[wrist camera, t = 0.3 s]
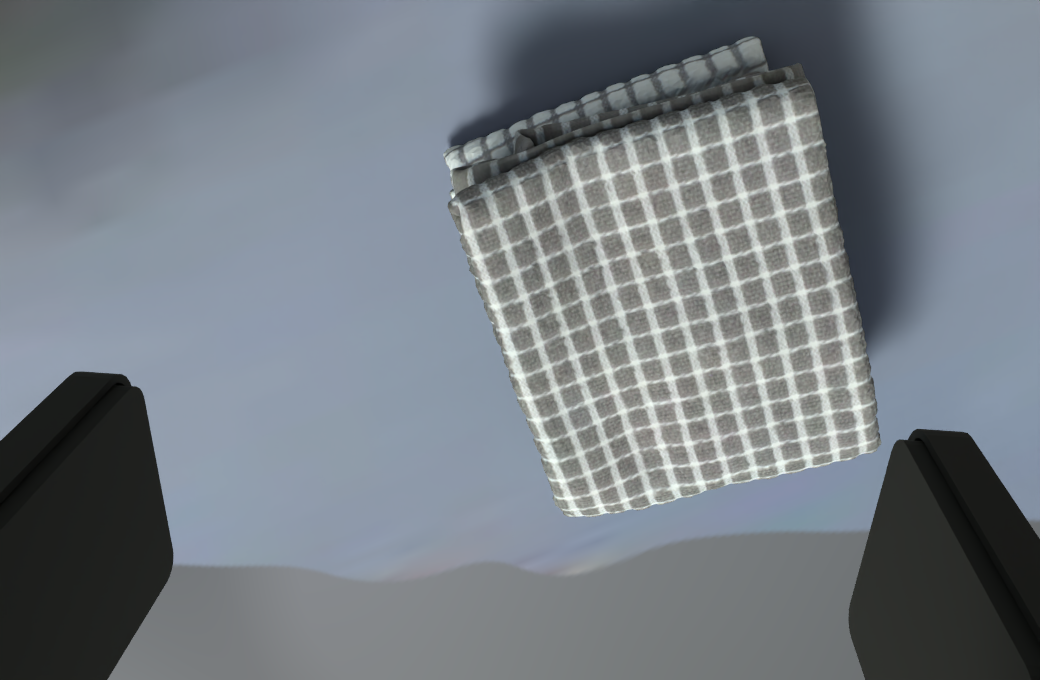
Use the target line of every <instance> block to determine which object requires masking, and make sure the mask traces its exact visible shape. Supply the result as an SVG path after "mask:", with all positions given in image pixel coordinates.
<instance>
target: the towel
mask: <svg viewBox="0 0 1040 680" xmlns="http://www.w3.org/2000/svg"><path fill="white" fill-rule="evenodd" d="M826 145H827V144H826V143H825V141H824V140H823V134H822V127H821V121H820V116H819V112H818V108H817V103H816V97H815V93H814V91H813V88H812V86H811V85H810V83H809V81H808V80H807V79H806V77H805V74H804V71H803V68H802V65H801V64H799V63H797V64H795V65H791V66H787V67H784V68H780V69H776V70H772V71H769V69H768V64H767V61H766V57H765V55H764V52H763V48H762V44H761V40H760V39H759V38H758V37H752V36H751V37H746V38H743V39H741V40H738V41H737V42H736V43H734V44H732V45H729V46H722V47H720V48H718V49H715V50H712V51H710V52H709V53H708V54H706V55H697V56H693V57H690V58H688V59H685V60H683V61H682V62H681V63H678V64H670V65H668V66H664V67H661V68H659V69H658V70H656V71H655V72H654V73H652V74H643V75H640V76H638V77H635V78H632V79H631V80H630V81H629V82H626V83H617V84H615V85H612V86H609V87H607V88H606V89H605V90H604V91H601V92H594V93H591V94H588V95H586V96H584V97H582V98H581V99H580V100H578V101H572V102H569V103H564V104H561V105H560V106H559V107H558V108H556V109H553V110H546V111H543V112H539V113H536V114H535V115H533V116H532V117H531V118H530V119H527V120H522V121H519V122H517V123H515V124H514V125H512V126H511V127H510V128H509V129H507V130H506V129H501V130H499V131H496V132H492V133H491V134H489V135H488V136H486V137H484V138H483V137H479V138H477V139H475V140H472V141H468V142H467V143H466V144H464V145H458V146H454V147H451V148H449V149H448V150H447V151H446V152H445V153H444V159H445V162H446V164H447V166H448V167H449V168H450V170H451V175H450V177H451V183H452V186H453V188H454V189H452V190H451V191H450V196H451V198H452V200H451V201H449V203H448V208H449V211H450V213H451V215H452V218H453V220H454V222H455V224H456V227H457V229H458V231H459V232H460V235H461V239H460V241H461V243H462V248H463V249H464V251H465V252H466V255H467V257H468V264H469V266H470V270H469V271H470V272H471V273H472V274H473V275H474V276H475V282H476V287H477V289H478V292H479V294H480V296H481V298H482V300H483V301H484V308H485V310H486V312H487V315H488V317H489V319H490V321H491V322H492V325H493V333H494V335H495V337H496V340H497V342H498V344H499V345H500V346H501V350H502V354H503V357H504V363H505V364H506V367H507V368H508V370H509V377H510V381H511V382H512V385H513V389H514V391H515V392H516V394H517V401H518V403H519V405H520V407H521V409H522V411H523V413H524V414H525V415H526V417H527V418H526V421H527V424H528V426H529V428H530V430H531V432H532V433H533V435H534V437H535V438H534V442H535V445H536V447H537V449H538V451H539V452H540V454H541V456H542V459H541V461H542V464H543V468H544V471H545V473H546V475H547V476H548V481H549V483H550V486H551V489H552V491H553V493H554V497H553V500H554V501H555V505H556V506H557V507H559V508H560V509H561V511H563V514H564V515H566V516H568V517H578V516H587V517H595V516H601V515H602V514H604V513H610V514H613V513H622V512H624V511H626V510H629V509H635V510H644V509H646V508H649V507H650V506H651V505H653V504H660V505H662V504H665V503H669V502H672V501H674V500H676V499H677V498H680V497H686V498H687V497H692V496H694V495H697V494H700V493H701V492H703V491H706V490H711V489H717V488H720V487H723V486H726V485H728V484H730V483H733V484H738V483H745V482H749V481H752V480H754V479H759V480H760V479H771V478H775V477H777V476H778V475H780V474H783V473H785V474H792V473H796V472H800V471H803V470H805V469H806V468H809V467H812V468H817V467H820V466H826V465H829V464H831V463H832V462H835V461H846V460H850V459H854V458H856V457H857V456H858V455H860V454H863V453H864V454H869V453H873V452H875V451H877V448H878V447H879V446H880V445H881V440H880V434H879V432H878V430H879V426H878V421H877V418H876V416H875V415H876V414H877V402H876V399H875V388H874V381H873V378H872V377H871V376H870V372H871V366H870V363H869V358H868V355H867V354H866V345H867V344H866V342H865V339H864V337H865V332H864V330H863V328H862V318H861V315H860V311H859V307H858V303H857V301H856V291H855V288H854V282H853V278H852V276H851V274H850V267H849V261H848V260H849V257H848V255H847V253H846V251H845V249H844V238H843V231H842V229H841V228H840V225H839V222H838V208H837V206H836V200H835V198H834V196H833V185H832V181H831V176H830V171H829V168H828V159H827V156H826V148H825V146H826Z"/></svg>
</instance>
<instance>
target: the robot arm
mask: <svg viewBox="0 0 1040 680" xmlns="http://www.w3.org/2000/svg"><path fill="white" fill-rule="evenodd" d="M172 565H173V548H172V542H171V537H170V532H169V526H168V521H167V516H166V511H165V505H164V500H163V495H162V489H161V484H160V479H159V474H158V468H157V463H156V458H155V452H154V447H153V442H152V437H151V431H150V426H149V421H148V415H147V410H146V405H145V400H144V396H143V393H142V391H141V390H140V388H138V387H133V386H131V384H130V382H129V380H128V379H127V377H125V376H124V375H122V374H109V373H95V372H75V373H73V374H71V375H70V376H69V377H68V378H67V379H65V380H64V381H63V382H62V383H61V384H60V385H59V386H58V387H57V388H56V389H55V390H54V391H53V392H52V393H51V394H50V395H49V396H47V397H46V398H45V399H44V400H43V401H42V402H41V403H40V404H39V405H38V406H37V407H36V408H35V409H34V410H33V411H32V412H31V413H29V414H28V415H27V416H26V417H25V418H24V419H23V420H22V421H21V422H20V423H19V424H18V425H17V426H16V427H15V428H14V429H13V430H11V431H10V432H9V433H8V434H7V435H6V436H5V437H4V438H3V439H2V440H1V441H0V680H107V679H108V678H109V676H110V674H111V673H112V671H113V669H114V668H115V666H116V664H117V663H118V661H119V659H120V658H121V656H122V655H123V653H124V651H125V650H126V648H127V646H128V645H129V643H130V641H131V640H132V638H133V636H134V635H135V633H136V632H137V630H138V628H139V626H140V625H141V623H142V622H143V620H144V619H145V617H146V615H147V614H148V612H149V610H150V609H151V607H152V606H153V604H154V602H155V600H156V599H157V597H158V596H159V594H160V592H161V591H162V589H163V588H164V586H165V584H166V582H167V581H168V578H169V576H170V573H171V570H172ZM849 629H850V634H851V638H852V641H853V644H854V647H855V650H856V653H857V656H858V659H859V662H860V665H861V668H862V671H863V674H864V677H865V680H1040V539H1039V537H1038V536H1037V534H1036V533H1035V531H1034V530H1033V528H1032V527H1031V525H1030V524H1029V522H1028V521H1027V519H1026V518H1025V516H1024V515H1023V513H1022V512H1021V510H1020V509H1019V507H1018V506H1017V504H1016V503H1015V501H1014V500H1013V498H1012V497H1011V495H1010V494H1009V492H1008V491H1007V489H1006V488H1005V486H1004V485H1003V483H1002V482H1001V481H1000V479H999V478H998V476H997V475H996V473H995V472H994V470H993V469H992V467H991V466H990V464H989V463H988V461H987V460H986V458H985V457H984V455H983V454H982V452H981V451H980V449H979V448H978V446H977V445H976V443H975V442H974V440H973V439H972V437H971V436H970V435H969V434H968V433H965V432H955V431H941V430H926V429H916V430H915V431H913V432H912V434H911V435H910V436H909V439H908V440H898V441H896V443H895V444H894V446H893V449H892V452H891V455H890V459H889V463H888V466H887V470H886V474H885V477H884V481H883V485H882V488H881V492H880V496H879V499H878V503H877V507H876V511H875V514H874V518H873V522H872V525H871V529H870V533H869V537H868V540H867V544H866V548H865V551H864V555H863V558H862V562H861V566H860V569H859V573H858V577H857V581H856V584H855V588H854V591H853V595H852V599H851V603H850V608H849Z"/></svg>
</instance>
